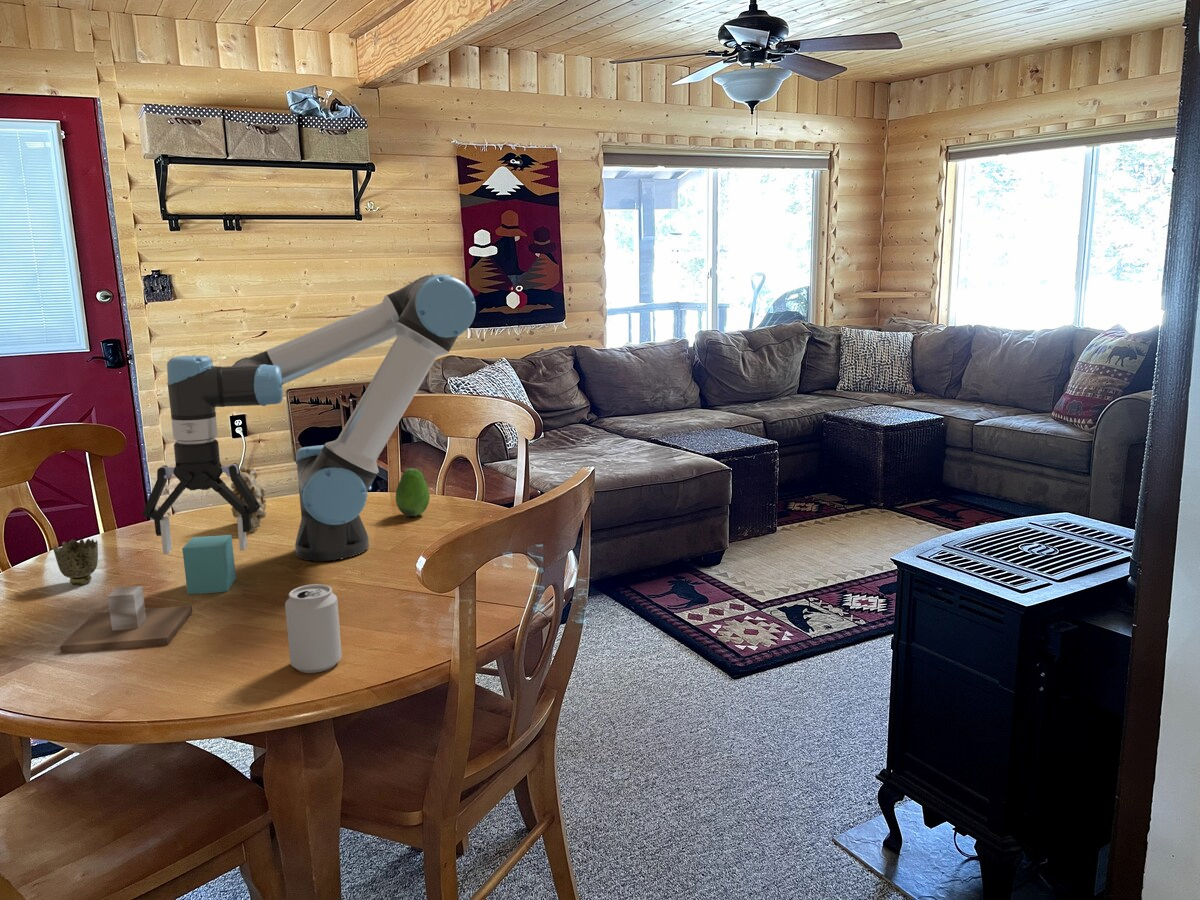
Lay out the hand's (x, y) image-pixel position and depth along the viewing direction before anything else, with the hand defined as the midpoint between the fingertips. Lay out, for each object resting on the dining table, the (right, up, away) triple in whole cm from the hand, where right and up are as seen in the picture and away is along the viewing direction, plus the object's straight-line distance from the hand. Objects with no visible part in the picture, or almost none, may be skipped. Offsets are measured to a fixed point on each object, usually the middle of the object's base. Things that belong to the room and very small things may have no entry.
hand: (205, 550), depth 166 cm
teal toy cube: (+1, -7, +2) cm, 7 cm away
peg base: (-4, -11, -19) cm, 23 cm away
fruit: (+29, +3, +48) cm, 56 cm away
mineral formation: (-7, +1, +40) cm, 41 cm away
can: (+32, -14, -32) cm, 47 cm away
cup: (-26, -7, +4) cm, 28 cm away
